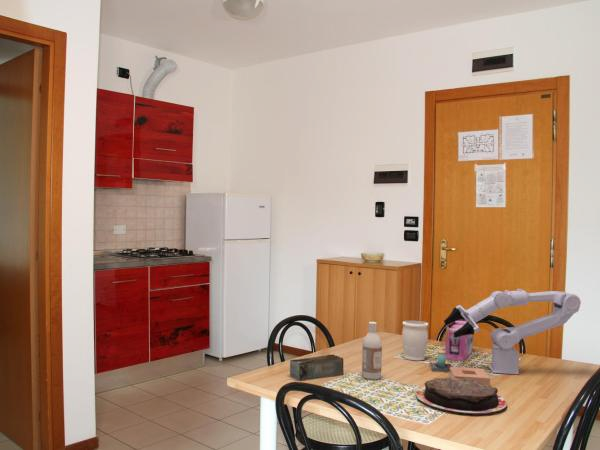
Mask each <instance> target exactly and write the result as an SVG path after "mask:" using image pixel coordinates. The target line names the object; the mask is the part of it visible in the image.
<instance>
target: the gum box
mask: <svg viewBox="0 0 600 450" xmlns="http://www.w3.org/2000/svg"><path fill="white" fill-rule="evenodd" d="M467 320H468V319H467ZM468 321H469V320H468ZM466 322H467V321H466V320H465V319H460V320H456V321H454V322H452V323H450V324H448V325H446V328H445V329H446V332H445V349H444V351H446V359H445V360H451V361H456V362H457V361H458V362H464V361H465V360H466V359H467V358H468V357H469V356H470V355H471V354H472V352H473V351H474V345H473V344H474V334H473V335H463V336H459V337H456V338H455V336H454V334H453V333H454V332H455V331H457V330H458V329H460V328H461V327H463V326H464V325H465V324H466Z"/></svg>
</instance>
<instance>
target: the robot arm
mask: <svg viewBox="0 0 600 450" xmlns="http://www.w3.org/2000/svg"><path fill="white" fill-rule="evenodd" d="M530 302H551V303H553V310H552V312H551V313H549V314H547V315H544V316H541V317H539V318H536V319H532V320H530V321H527V322H524V323H521V324H519V325H516V326H512V327H511V326H510V327H503V328H495V329H492V331H491V333H490V339H491V342H492V343H493V344H492V347H491V365H488V369H490V371H491V372H492V373H494V374H506V375H507V374H508V375H509V374H510V375H519V374H520V371H519V365H520V360H519V359H520V355H519V350H518V349H517V348H513V347H514V346H515V345H516V344H519V343H520V341H521V340H523V339H525V338H529V337H531V336H534V335H537V334H540V333H543V332H545V331H548V330H551V329H553V328H557V327H559V326H562V325H564V324H566V323H567V322H568V321H569V320H570V319H571V318H572V316H574V314H576V313H578V312H579V311H580V307H581V303H582V302H581V299H580V297H579V296H578V295H577V294H575V293H570V292H566V291H563V290H561V291H558V290H550V291H548V290H547V291H537V292H527V291H526V290H524V289H522V288H517V289H516V290H508V289H505V290H504V291H500V290H496V291H493V292H491V293H490V296H488V297H487V298H484V299H483V300H481V301H480V302H478V303H476V304H475V305H473V306H471V307H469V308H468V309H465V308H464V307H463V306H462V305H461V304H459V305H456V306H455V307H453V309H452V311H451V312H450V314H449V315H448V316H447V317H446V319H444V320H443V322H444V325H445V326H448V325H449V324H451V323H452V322H454V321H456V320H460V319H462V320H466V321H467V322H466V324H465V325H464V326H463V327H461V328H460V329H458V330H457V331H455V332H454V333H453V334H454V336H455V338H456V337H459V336H463V335H473V336H474V335H475V334H477V333H478V332H480V331H481V328H480V327H479V325H478V324H477V323H478V322H479V321H481V320H482V319H485V318H486V317H488V316H489V315H491V314H493V313H494V312H496V311H497V310H500V308H501V309H502V308H503V309H504V308H505V309H506V308H508V307H516V306H526V305H528V304H529V303H530ZM468 320H469V321H468Z"/></svg>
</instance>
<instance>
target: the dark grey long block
mask: <svg viewBox="0 0 600 450" xmlns="http://www.w3.org/2000/svg"><path fill="white" fill-rule="evenodd" d="M342 375H344V358H343V357H340V356H338V355H335V354H327V355H321V356H314V357H305V358H299V359H291V360H289V376H290V377H291V378H294V379H296V381H297V380H298V381H300V382H302V381H307V380H309V381H310V380H316V379H322V378H329V377H335V376H342Z"/></svg>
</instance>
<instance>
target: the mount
mask: <svg viewBox="0 0 600 450" xmlns="http://www.w3.org/2000/svg"><path fill="white" fill-rule="evenodd" d="M449 367H453V365H451V363H446V362H445V367H437V362H429V368H430V371H431V372H440V373H449Z"/></svg>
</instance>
